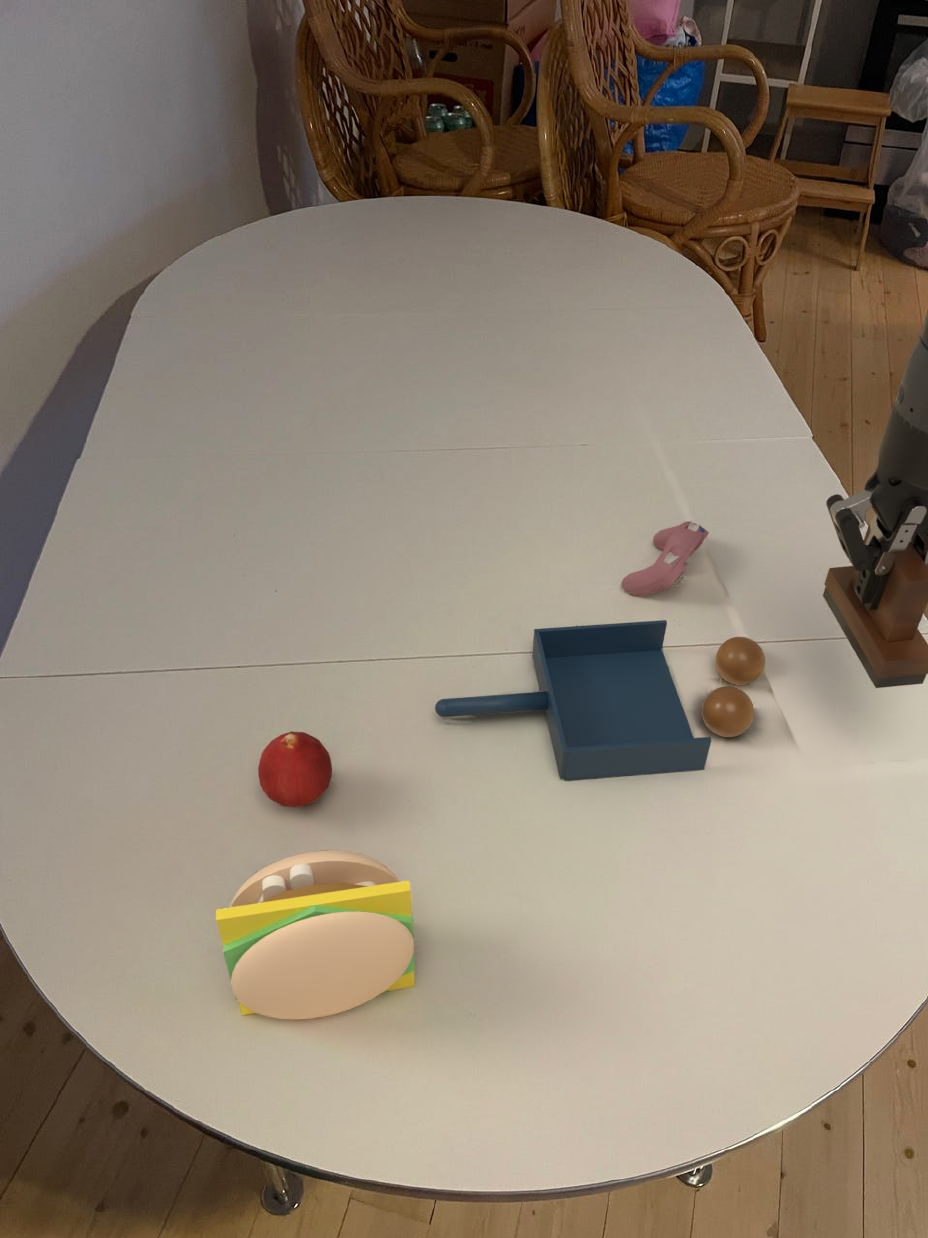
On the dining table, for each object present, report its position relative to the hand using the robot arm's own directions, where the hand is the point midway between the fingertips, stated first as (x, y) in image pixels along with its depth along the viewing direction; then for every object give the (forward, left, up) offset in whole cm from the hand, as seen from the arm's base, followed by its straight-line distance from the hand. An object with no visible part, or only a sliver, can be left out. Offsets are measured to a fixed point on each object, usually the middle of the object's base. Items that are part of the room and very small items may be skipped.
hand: (884, 600), depth 81 cm
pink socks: (+10, -23, -16) cm, 29 cm away
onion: (+47, +2, -16) cm, 49 cm away
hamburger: (+45, +18, -16) cm, 51 cm away
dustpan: (+24, -5, -16) cm, 29 cm away
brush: (0, 0, -4) cm, 4 cm away
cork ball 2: (+10, -2, -13) cm, 17 cm away
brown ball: (+7, -8, -13) cm, 17 cm away
